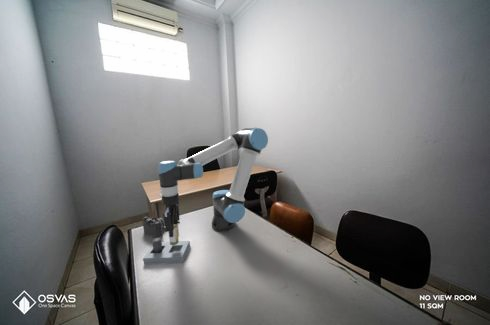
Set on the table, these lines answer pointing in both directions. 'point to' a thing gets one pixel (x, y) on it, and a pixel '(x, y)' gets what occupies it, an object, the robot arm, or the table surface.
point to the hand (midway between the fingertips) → (174, 238)
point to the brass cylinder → (175, 236)
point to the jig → (166, 252)
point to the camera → (153, 226)
